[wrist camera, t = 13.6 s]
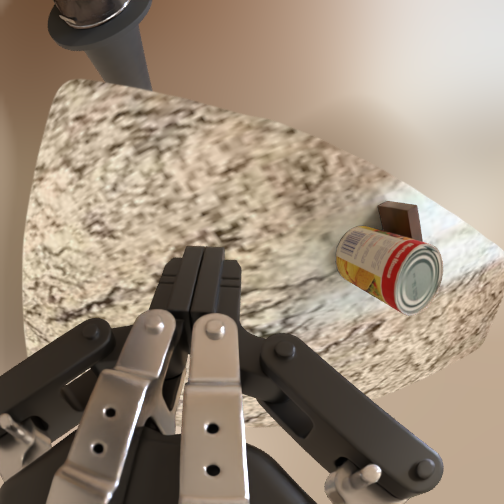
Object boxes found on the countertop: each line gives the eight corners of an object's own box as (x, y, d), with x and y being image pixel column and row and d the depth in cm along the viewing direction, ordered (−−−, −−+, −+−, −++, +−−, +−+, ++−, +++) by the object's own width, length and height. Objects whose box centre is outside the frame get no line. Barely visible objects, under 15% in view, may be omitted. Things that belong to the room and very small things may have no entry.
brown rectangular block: (377, 205, 36) (407, 210, 31) (387, 200, 37) (417, 205, 31) (389, 268, 39) (416, 280, 34) (398, 263, 40) (426, 274, 34)
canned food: (363, 289, 39) (420, 324, 28) (325, 268, 36) (383, 302, 25) (388, 242, 38) (451, 263, 27) (353, 214, 36) (419, 230, 24)
